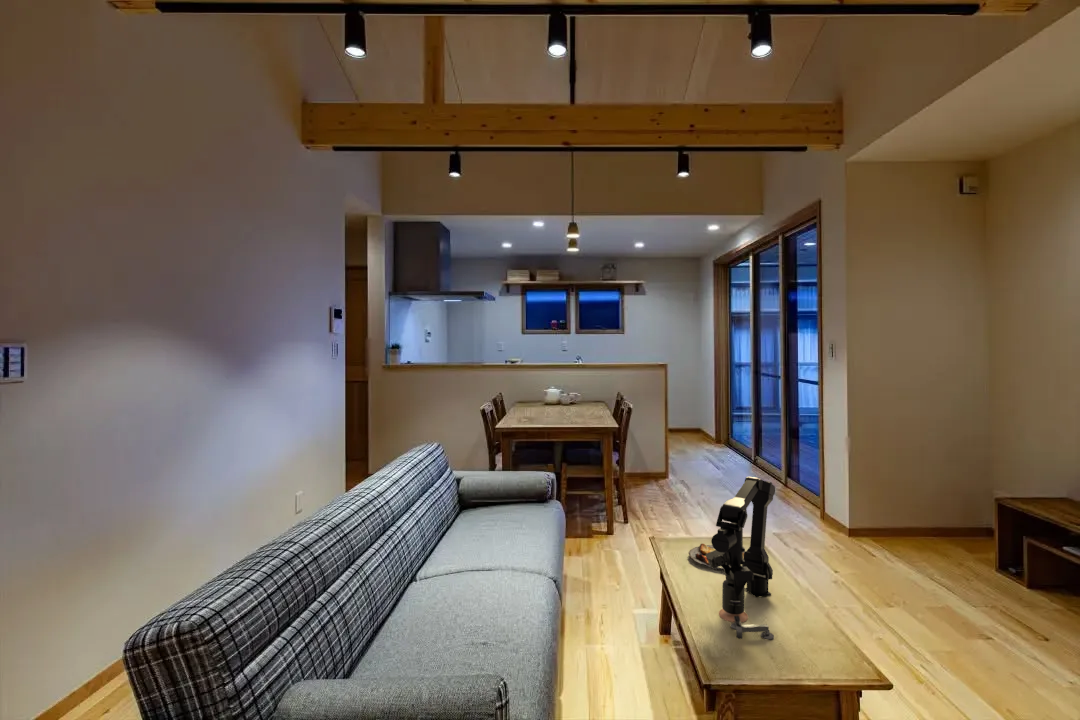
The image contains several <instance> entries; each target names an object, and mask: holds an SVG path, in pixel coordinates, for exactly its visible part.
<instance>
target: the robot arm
mask: <svg viewBox="0 0 1080 720" xmlns="http://www.w3.org/2000/svg"><path fill="white" fill-rule="evenodd" d="M775 493H776V486H775V485H774V484H773V483H772V481H767V480H764V479H762V478H759V477H754V476H746V477H745V478H744V482H743V484H742V485H741V486H740V489H739V490H738V491H737V493H736V494H735V496H734V497H733V498H730V499H727V500H726V501H725V502H723V504H722V505H721V507H720V508H719V512H718V515H717V516H718V517H717V518H716V519H717V520H716V524H715V526H716V527H718V528H717V533H715V534H714V535H713V536H712V537H711V542H710V543H711V545H712V546H713V547H714V549H715V551H712V552H709V553H707V554H706V557H707V560H708V563H709V564H710V566H711V569H712V568H716V567H719V566H721V567H722V568H723V569H722V570H723V572H724V576H725V577H726V572H728V571H730V575H729V576H730V578H731V579H732V580H733V583H734V589H735V595H736V596H739V595H740V593H741V591H742V590H743V588H744V586H746V587H745V591H746V592H747V593H749V595H752V596H753V597H755V598H758V597H759V598H760V597H761V598H762V597H766V596H771V595H772V593H771V592H770V591H769V580H773V575H774V570H773V568H772V566H771V564H770V562H769V561H770V560H769V559H770V558H769V555H768V553H767V551H766V549H765V545H766V544H765V543H766V530H767V517H768V516H767V515H768V507H769V506H770V504H771V503H772V501H773V500H774V495H775ZM750 503H752V516H751V517H752V518H751V529H750V542H749V548H748V549H747V550H746V548H745V547H744V546H743V545H744V542H743V541H744V539H743V537H744V535H743V533H744V532H743V530H744V529H745V525H746V522H747V519H748V511H747V509H748V507H749V505H750ZM743 528H744V529H743ZM743 552H745V553H744V558H743ZM741 565H742V566H743V567H741ZM719 568H720V567H719ZM716 569H717V568H716Z"/></svg>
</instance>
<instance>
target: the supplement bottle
mask: <svg viewBox="0 0 1080 720" xmlns="http://www.w3.org/2000/svg"><path fill="white" fill-rule="evenodd" d="M729 575H730V571H728V572H726V576H725V579H724V580H723V582H722V585H721V586H722V587H721V589H722V590H721V591H722V596H721V599H722V600H721V609H723V610H724V611H725V612H727V613H730V614H735V615H738V614H742V613H743V612H745V595H746V594H745V591H746V590H745V588H746V587H745V586H746V585H745V586H744V588H743V590H742V591H741V593H740V595H739V596H736V595H735V589H734V583H733V580H732V579H731V578H730V576H729Z"/></svg>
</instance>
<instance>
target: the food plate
mask: <svg viewBox="0 0 1080 720" xmlns="http://www.w3.org/2000/svg"><path fill="white" fill-rule="evenodd" d="M712 551H715V549H714V547H713V546H712V544H708V545H707V544H705V543H700V545H699V546H694V547H693V548H692V549H690V550H689V551H688V555H689V558H690V559H691V561H693V562H696V563H697V564H701V565H705V566H706V567H708V568H710V569H712V570H713V569H717V570H718V569H719V570H724V569H723V567H722V566H719V567H716V568H712V567H711V566H710V564H709V563H708V560H707V557H706V554H707V553H709V552H712ZM744 553H745V552H743V558H744ZM741 567H743V566H742V565H741Z"/></svg>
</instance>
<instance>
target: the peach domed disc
mask: <svg viewBox="0 0 1080 720" xmlns="http://www.w3.org/2000/svg"><path fill="white" fill-rule="evenodd" d="M718 616H719V617H720V618H721V619H722V620H724V621H726V622H729V623H735V622H734V616H739V618H740V621H741V624H742V623H745V622H747V621H748V620H749V615H748V614H747V612H745V611H744V612H743V613H742V614H738V615H735V614H730V613H727V612H725V611H724V610H723V608H721V609H720V610H719V611H718Z"/></svg>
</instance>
